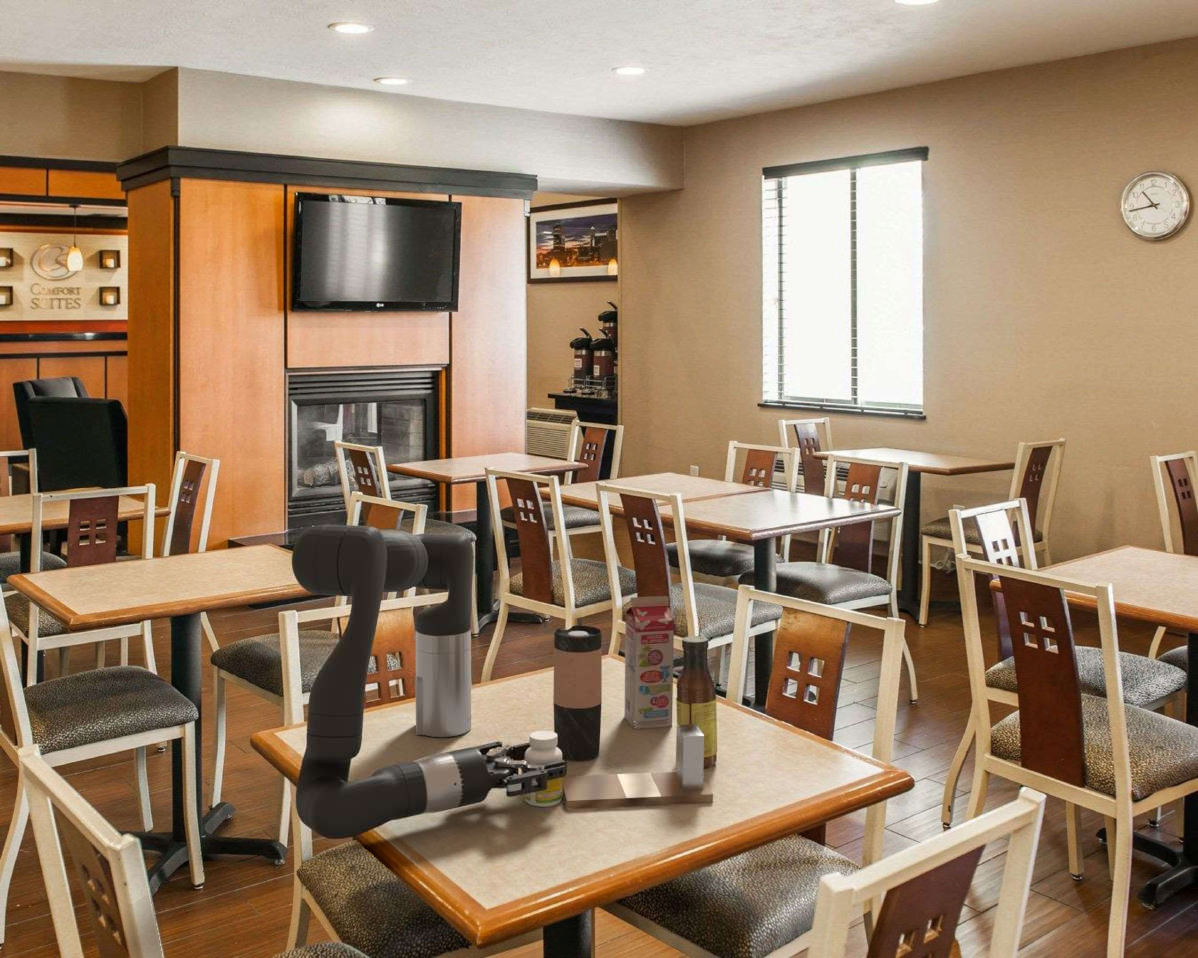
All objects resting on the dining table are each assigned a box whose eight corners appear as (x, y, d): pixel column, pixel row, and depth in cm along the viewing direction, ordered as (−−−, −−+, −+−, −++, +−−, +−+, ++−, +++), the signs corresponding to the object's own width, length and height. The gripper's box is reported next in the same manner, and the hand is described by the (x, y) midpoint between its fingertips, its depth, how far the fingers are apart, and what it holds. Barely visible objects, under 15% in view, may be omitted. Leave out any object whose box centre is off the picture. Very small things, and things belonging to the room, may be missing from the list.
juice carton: (624, 716, 202) (625, 593, 199) (660, 713, 204) (662, 591, 201) (634, 729, 196) (636, 602, 193) (672, 726, 197) (674, 600, 194)
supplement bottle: (569, 798, 166) (569, 732, 165) (548, 810, 162) (548, 743, 160) (539, 790, 169) (539, 725, 168) (517, 802, 164) (517, 736, 163)
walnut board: (566, 808, 162) (566, 800, 162) (560, 784, 171) (560, 776, 171) (712, 802, 165) (712, 793, 165) (698, 778, 174) (699, 770, 174)
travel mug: (595, 763, 179) (596, 638, 177) (548, 759, 181) (548, 635, 178) (605, 747, 187) (606, 626, 184) (559, 743, 188) (560, 623, 186)
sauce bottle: (722, 759, 182) (725, 636, 179) (708, 772, 176) (711, 646, 174) (683, 752, 185) (685, 631, 182) (669, 765, 179) (671, 640, 177)
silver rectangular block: (682, 789, 166) (683, 736, 165) (675, 776, 171) (676, 724, 170) (703, 788, 167) (704, 735, 166) (695, 775, 172) (696, 724, 171)
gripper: (470, 770, 150) (576, 747, 159) (425, 738, 162) (526, 718, 171) (471, 825, 151) (576, 800, 160) (425, 789, 163) (526, 767, 172)
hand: (550, 758), depth 165 cm, fingers open, 8 cm apart
